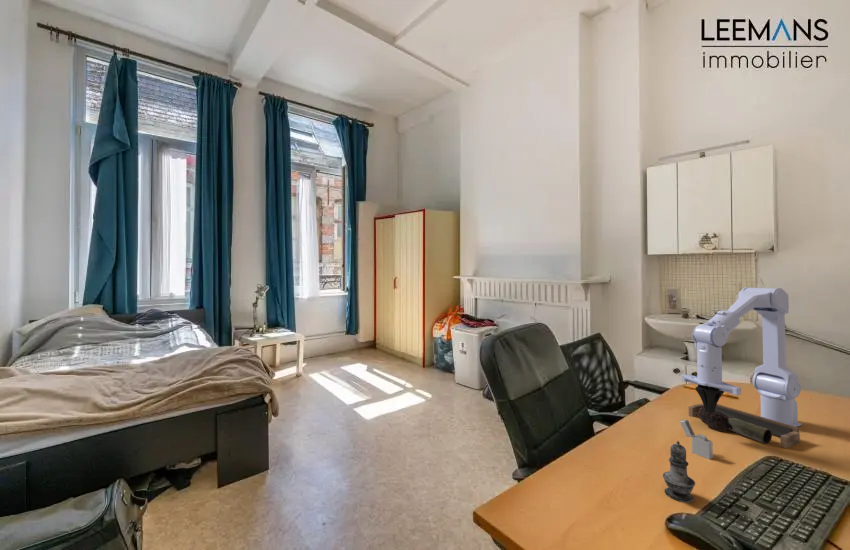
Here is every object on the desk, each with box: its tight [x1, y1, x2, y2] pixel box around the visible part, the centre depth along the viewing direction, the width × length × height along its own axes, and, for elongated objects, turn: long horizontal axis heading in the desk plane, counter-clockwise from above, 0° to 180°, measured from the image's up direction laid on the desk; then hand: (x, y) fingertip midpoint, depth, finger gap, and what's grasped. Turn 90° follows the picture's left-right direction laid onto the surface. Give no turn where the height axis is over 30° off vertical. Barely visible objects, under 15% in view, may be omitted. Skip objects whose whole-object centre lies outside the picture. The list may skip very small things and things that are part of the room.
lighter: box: [679, 419, 714, 460], centre depth 97 cm, size 7×2×8 cm, turn 27°
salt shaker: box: [662, 440, 696, 504], centre depth 79 cm, size 6×6×12 cm
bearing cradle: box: [688, 402, 801, 449], centre depth 111 cm, size 8×25×4 cm, turn 22°
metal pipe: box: [697, 408, 773, 445], centre depth 109 cm, size 18×7×6 cm, turn 23°
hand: (709, 411), depth 106 cm, fingers closed
